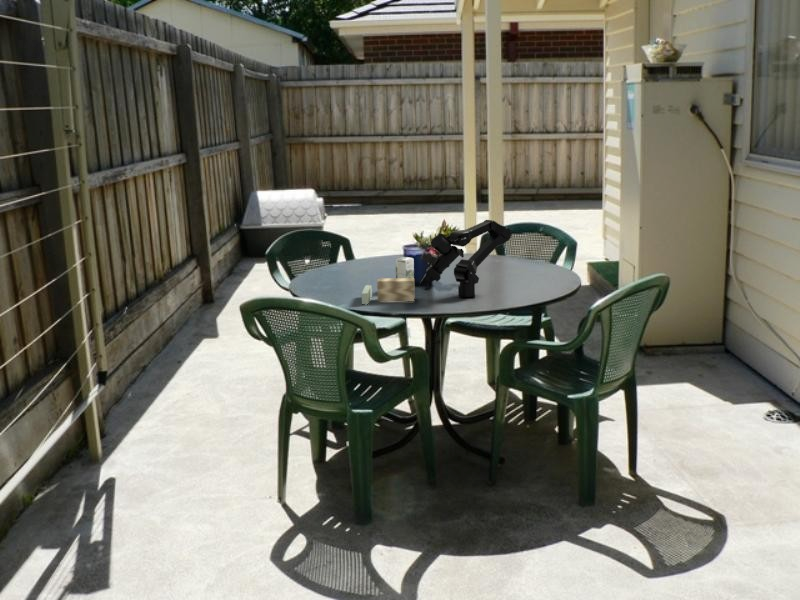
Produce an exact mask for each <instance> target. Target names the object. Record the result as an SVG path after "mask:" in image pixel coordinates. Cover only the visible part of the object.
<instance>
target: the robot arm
mask: <svg viewBox="0 0 800 600" xmlns="http://www.w3.org/2000/svg"><path fill="white" fill-rule="evenodd" d="M485 233H487V234H488V239H487V240H486V241H485V242H484V243H483V244H482V245H481V246H480V247H479V248H478V249H477V250H476V251H475V252H474V253H473V254H472V255H471V257H469V259H463V258H464V257H465V256H464V253H465V251H464V249H463V248H458V247H465V246H467V245H469V244H470V243H471V241H472V240H473V239H475V238H477V237H480V236H481V235H484V234H485ZM511 238H512V230H511V228H509V227H505V226H504V225H502V224H499V223H498V222H497V221H495V220H492V219H485V220H484V221H482V222H479V223H478V224H475V225H473V226H471V227H468V228H466V229H459V230H455V231H451V232H450V233H449V235H447V236H446V235H445V234H443V233H441V232H440V233H438V235H436V236H434V237H433V238H432V239H431V241H430V246H431V248H432V249H434V250H435V251H437V253H439V254H438V255H435V254H434V253H431V252H429V251H426V250H423V253H422V255H421V257H420V260H422V261H423V262H427V265H428V266H426V268H425V272H426V273H425V274H424V275H423V278H422V279H421V281H420V282H419V285H420V287H421V286H424V285H427V284H429V283H432V282H434V281H435V282H436V283H437V282H439V281H440V280H441V278H442V277H441V276H442V274H443V272H444V271H446V269H447V268H450V265H451V264H452V263H453V262H454V261H455V260H456V259H457V258H459V256H460V257H461V259H460V261H459V262H458V263H456V264H455V267H454V268H453V275H454V278H455V281H456V282H457V283H459V284H458V288H457V289H458V291H457V293H458V295H457V296H458V297H459V298H460V297H462V298H461V299H464V298H463V297H475V298H476V293H475V292H476V284H478V283H479V280H480V277H479V276H478V275H477V270H478V267H480V265H481V264H482V263H483V262H484V261H485V260H486V258H487V257H489V255H490V254H492V253H493V251H494V250H495V249H496V248H497V247H499V246H502V245H504V244H506V243H507V242H509V241H510V239H511Z"/></svg>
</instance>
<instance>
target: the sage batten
mask: <svg viewBox="0 0 800 600" xmlns="http://www.w3.org/2000/svg"><path fill="white" fill-rule="evenodd" d="M372 286H373V285H372V284H366V285H365V286H364V288H363V290H362V292H361V305H362V304H368V303H369V304H370V302H371V300H372V298H373V290H372V289H373V287H372ZM371 297H372V298H371ZM370 299H371V300H370ZM369 301H370V302H369ZM369 304H368V305H369Z"/></svg>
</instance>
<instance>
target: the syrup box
mask: <svg viewBox="0 0 800 600" xmlns="http://www.w3.org/2000/svg"><path fill="white" fill-rule="evenodd" d="M414 261H415V260H414V258H413V257H411V256H410V257H408V256H403V257H400V258H399V257H398V258H396V259H395V278H414V277H415V275H414V274H415V268H414V267H415V262H414ZM414 279H415V278H414Z"/></svg>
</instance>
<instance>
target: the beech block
mask: <svg viewBox="0 0 800 600" xmlns="http://www.w3.org/2000/svg"><path fill="white" fill-rule="evenodd" d="M376 283H377V285H376V286H377V287H376V288H377V291H376V292H377V302H378V301H414V302H415V300H414V299H416V297H415V295H416V294H415V293H416V291H415V288H416V287H415V285H416V284H415V278H396V277H395V278H394V277H393V278H388V277H387V278H378V279H377V282H376Z"/></svg>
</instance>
